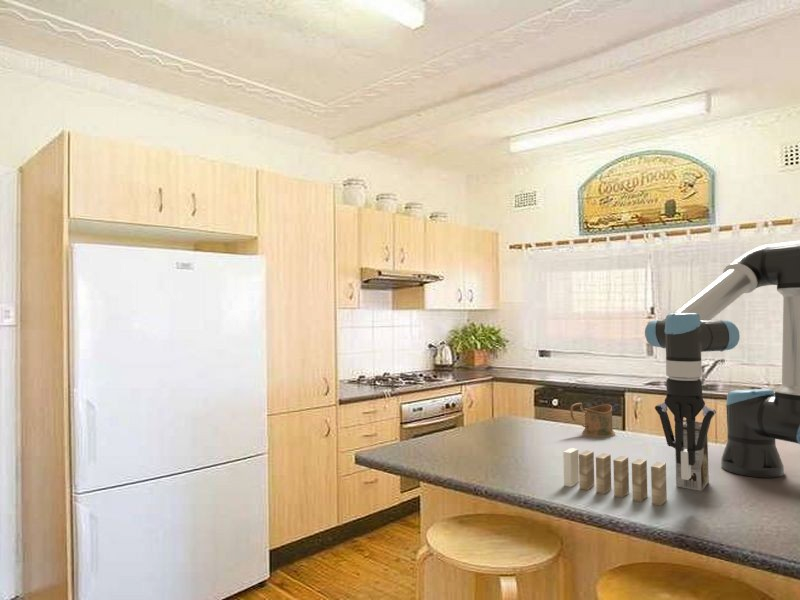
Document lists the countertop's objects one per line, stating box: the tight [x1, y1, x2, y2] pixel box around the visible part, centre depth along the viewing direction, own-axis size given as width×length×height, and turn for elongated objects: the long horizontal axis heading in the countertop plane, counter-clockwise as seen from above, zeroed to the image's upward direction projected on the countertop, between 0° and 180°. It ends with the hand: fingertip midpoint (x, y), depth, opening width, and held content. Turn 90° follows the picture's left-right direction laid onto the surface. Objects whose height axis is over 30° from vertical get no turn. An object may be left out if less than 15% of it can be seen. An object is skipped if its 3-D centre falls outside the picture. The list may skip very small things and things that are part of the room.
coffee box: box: [674, 419, 710, 492], centre depth 146 cm, size 9×6×16 cm
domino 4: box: [612, 455, 630, 498], centre depth 139 cm, size 2×5×9 cm, turn 139°
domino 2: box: [578, 450, 595, 491], centre depth 145 cm, size 2×5×9 cm, turn 139°
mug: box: [569, 402, 616, 438], centre depth 204 cm, size 12×18×12 cm, turn 107°
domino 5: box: [631, 458, 648, 502], centre depth 136 cm, size 2×5×9 cm, turn 139°
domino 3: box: [595, 452, 612, 495], centre depth 142 cm, size 2×5×9 cm, turn 139°
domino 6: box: [650, 461, 668, 507], centre depth 133 cm, size 2×5×9 cm, turn 139°
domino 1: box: [562, 447, 579, 488], centre depth 148 cm, size 2×5×9 cm, turn 139°
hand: (686, 478), depth 129 cm, fingers closed
